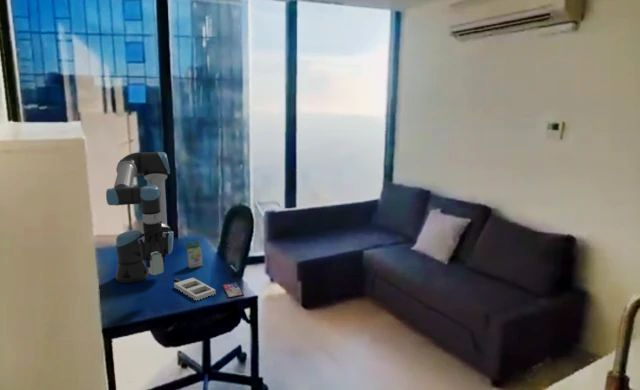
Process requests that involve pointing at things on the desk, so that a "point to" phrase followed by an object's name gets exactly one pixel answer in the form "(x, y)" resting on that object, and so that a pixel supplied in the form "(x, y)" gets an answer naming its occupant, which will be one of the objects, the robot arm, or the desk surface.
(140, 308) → the desk surface
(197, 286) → the white compartment tray
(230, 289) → the smartphone
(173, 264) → the desk surface
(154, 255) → the block
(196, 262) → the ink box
